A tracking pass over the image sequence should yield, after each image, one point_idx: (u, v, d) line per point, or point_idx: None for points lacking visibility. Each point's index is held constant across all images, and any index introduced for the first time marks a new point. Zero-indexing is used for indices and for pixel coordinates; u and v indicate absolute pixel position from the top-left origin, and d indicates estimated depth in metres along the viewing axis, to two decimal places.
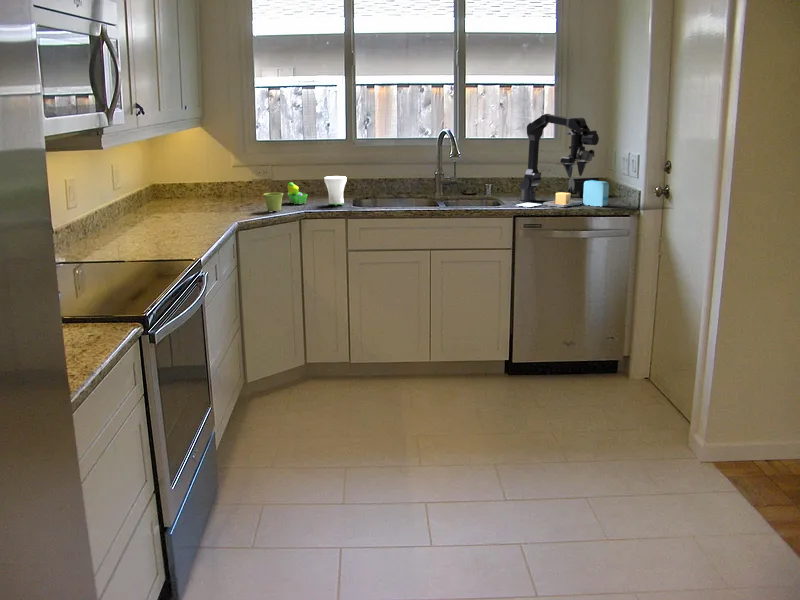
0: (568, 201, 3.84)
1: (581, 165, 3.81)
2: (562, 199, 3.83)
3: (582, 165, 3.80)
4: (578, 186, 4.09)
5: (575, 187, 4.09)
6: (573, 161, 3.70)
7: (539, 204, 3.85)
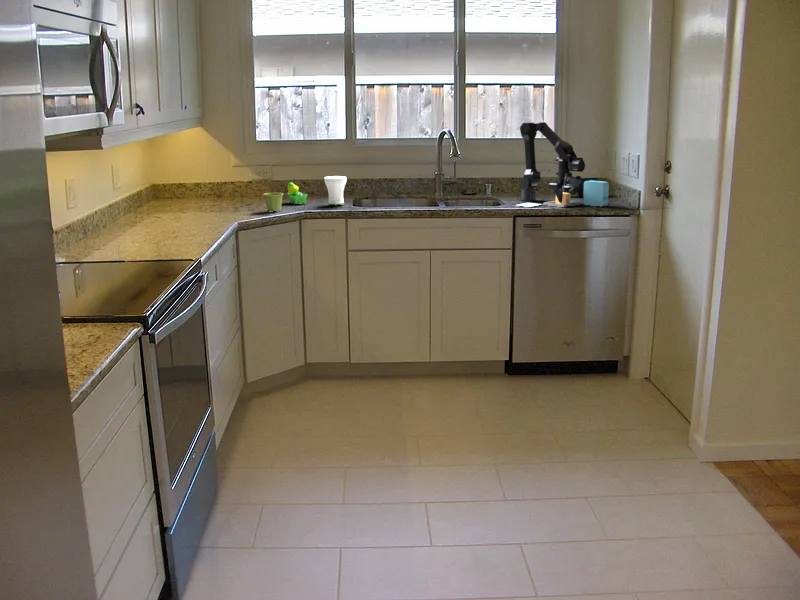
0: (568, 201, 3.84)
1: (565, 191, 3.86)
2: (562, 199, 3.83)
3: (567, 191, 3.86)
4: (577, 186, 4.09)
5: (574, 187, 4.09)
6: (560, 187, 3.77)
7: (539, 204, 3.85)
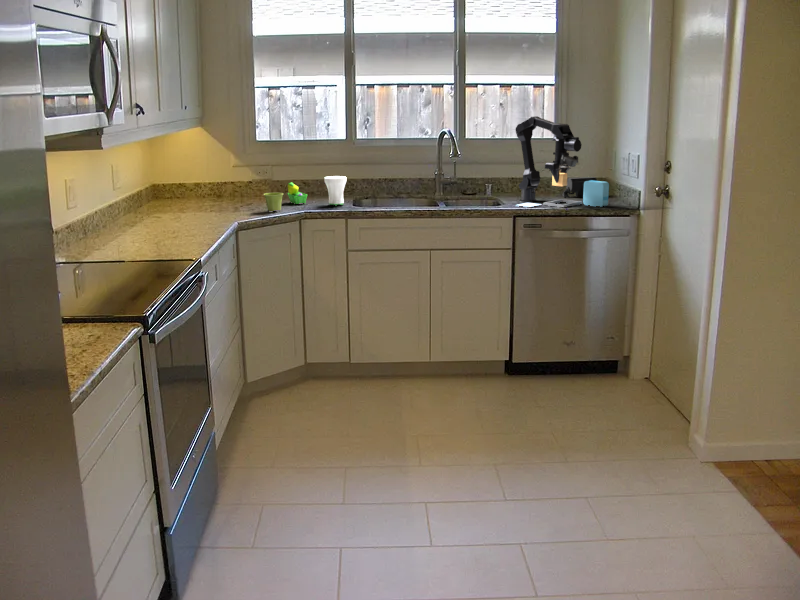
0: (565, 181, 3.81)
1: (562, 171, 3.84)
2: (559, 179, 3.80)
3: (564, 171, 3.83)
4: (576, 186, 4.09)
5: (573, 187, 4.08)
6: (557, 167, 3.74)
7: (539, 204, 3.85)
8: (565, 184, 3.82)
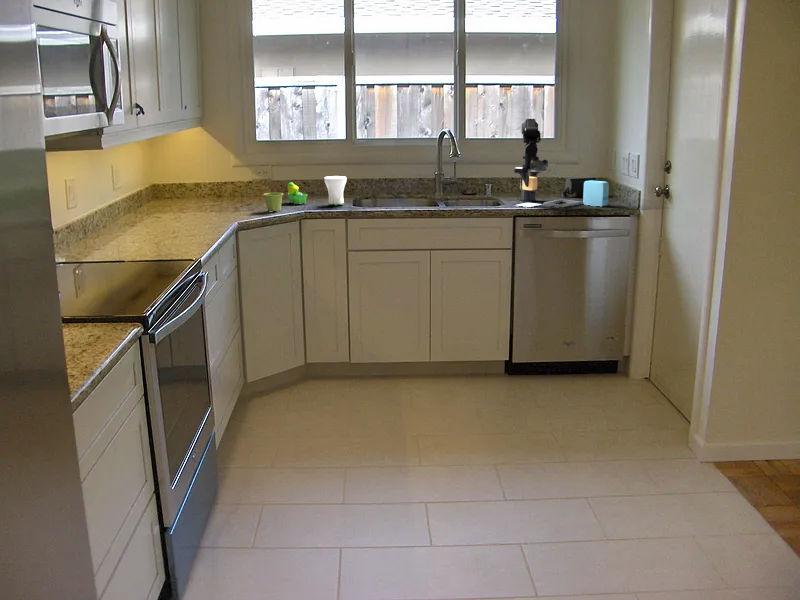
0: (535, 185, 3.81)
1: (532, 175, 3.83)
2: (529, 183, 3.80)
3: (534, 176, 3.82)
4: (575, 186, 4.09)
5: (572, 187, 4.08)
6: (526, 171, 3.73)
7: (539, 204, 3.85)
8: (535, 188, 3.81)
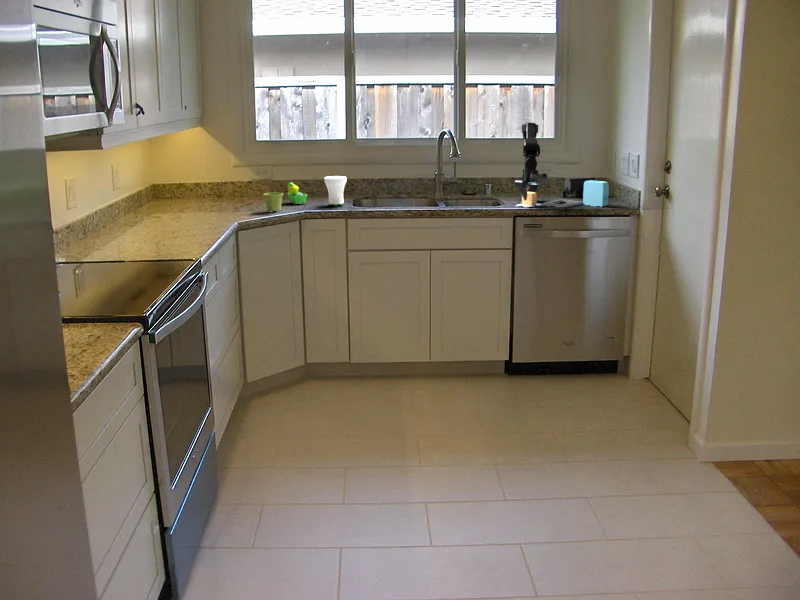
0: (534, 200, 3.83)
1: (533, 189, 3.85)
2: (528, 198, 3.82)
3: (534, 189, 3.85)
4: (574, 186, 4.08)
5: (571, 187, 4.08)
6: (526, 185, 3.75)
7: (539, 204, 3.85)
8: (535, 203, 3.83)
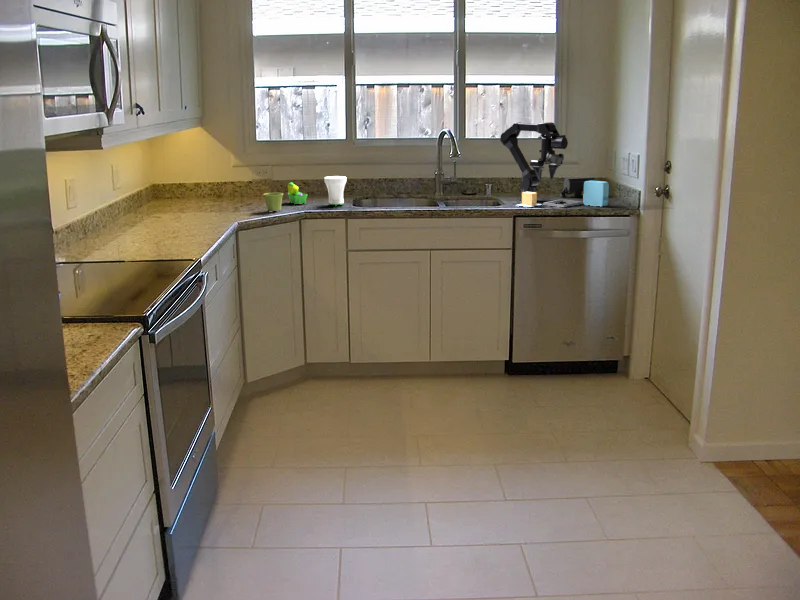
0: (534, 200, 3.83)
1: (552, 168, 3.93)
2: (528, 198, 3.82)
3: (553, 169, 3.93)
4: (573, 186, 4.08)
5: (570, 187, 4.08)
6: (541, 164, 3.83)
7: (539, 204, 3.85)
8: (535, 203, 3.83)
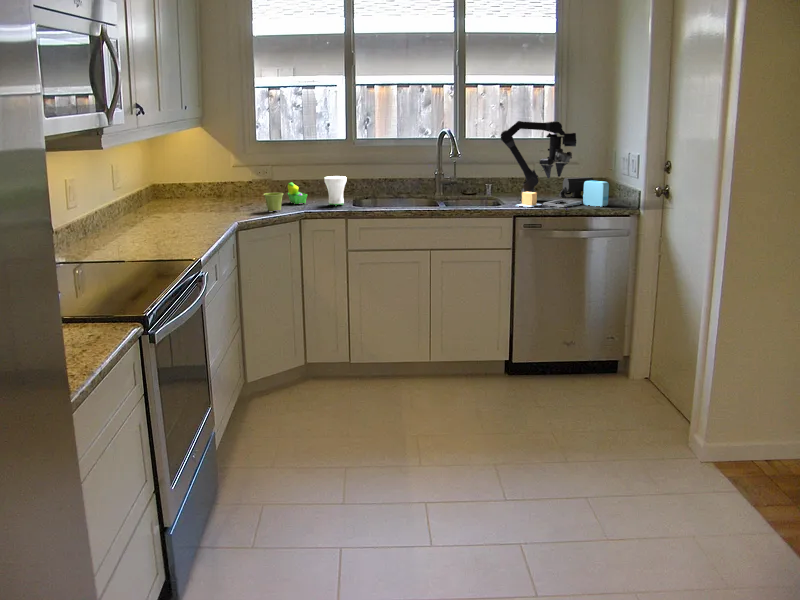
0: (534, 200, 3.83)
1: (559, 167, 4.00)
2: (528, 198, 3.82)
3: (560, 167, 3.99)
4: (572, 186, 4.08)
5: (569, 187, 4.08)
6: (551, 163, 3.88)
7: (539, 204, 3.85)
8: (535, 203, 3.83)
